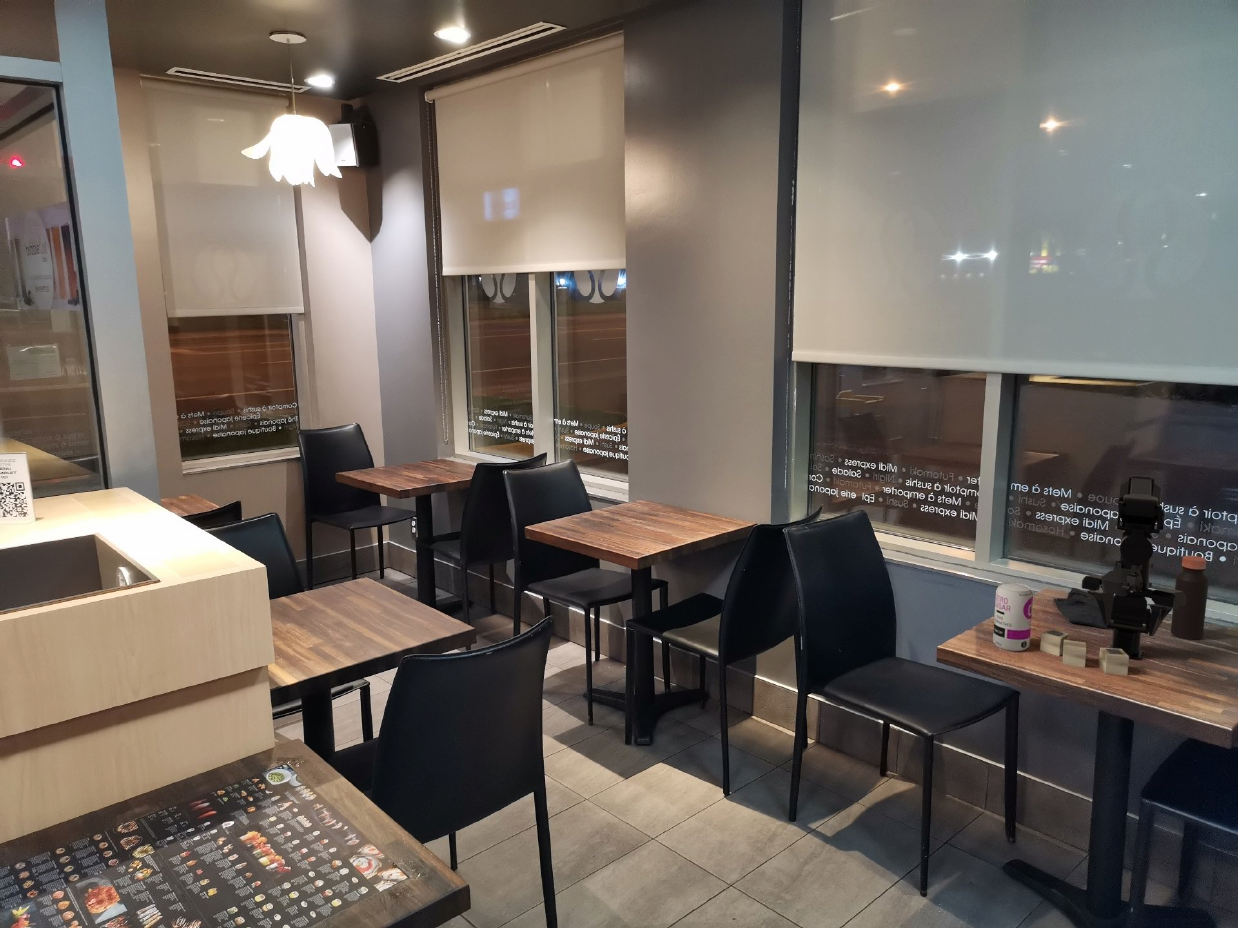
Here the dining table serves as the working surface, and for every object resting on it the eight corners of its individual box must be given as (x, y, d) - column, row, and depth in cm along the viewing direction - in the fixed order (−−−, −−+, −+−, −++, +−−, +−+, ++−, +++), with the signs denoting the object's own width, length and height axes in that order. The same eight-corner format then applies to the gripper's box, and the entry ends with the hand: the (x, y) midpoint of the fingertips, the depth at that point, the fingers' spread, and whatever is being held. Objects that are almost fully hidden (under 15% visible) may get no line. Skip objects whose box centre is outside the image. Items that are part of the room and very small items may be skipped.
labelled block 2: (1098, 666, 198) (1100, 646, 198) (1119, 667, 197) (1121, 647, 197) (1105, 673, 194) (1107, 654, 193) (1127, 675, 193) (1129, 655, 192)
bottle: (1197, 642, 212) (1206, 563, 208) (1166, 634, 217) (1174, 558, 213) (1206, 635, 216) (1214, 558, 213) (1175, 628, 221) (1183, 552, 218)
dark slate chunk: (1057, 625, 225) (1058, 608, 224) (1052, 600, 245) (1053, 584, 244) (1124, 633, 219) (1125, 615, 218) (1114, 607, 239) (1115, 590, 238)
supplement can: (1033, 645, 211) (1038, 586, 208) (1022, 654, 205) (1026, 594, 203) (999, 637, 216) (1003, 579, 214) (987, 646, 211) (991, 587, 208)
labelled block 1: (1048, 646, 210) (1050, 627, 210) (1067, 651, 207) (1069, 633, 206) (1040, 650, 208) (1041, 632, 207) (1059, 656, 204) (1060, 637, 203)
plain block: (1062, 657, 203) (1063, 639, 203) (1084, 660, 201) (1085, 642, 201) (1062, 664, 199) (1064, 646, 199) (1084, 667, 197) (1086, 649, 197)
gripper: (1070, 551, 184) (1063, 623, 185) (1162, 567, 168) (1154, 646, 170) (1099, 549, 190) (1092, 618, 191) (1190, 564, 174) (1183, 640, 175)
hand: (1128, 630), depth 182 cm, fingers open, 9 cm apart
